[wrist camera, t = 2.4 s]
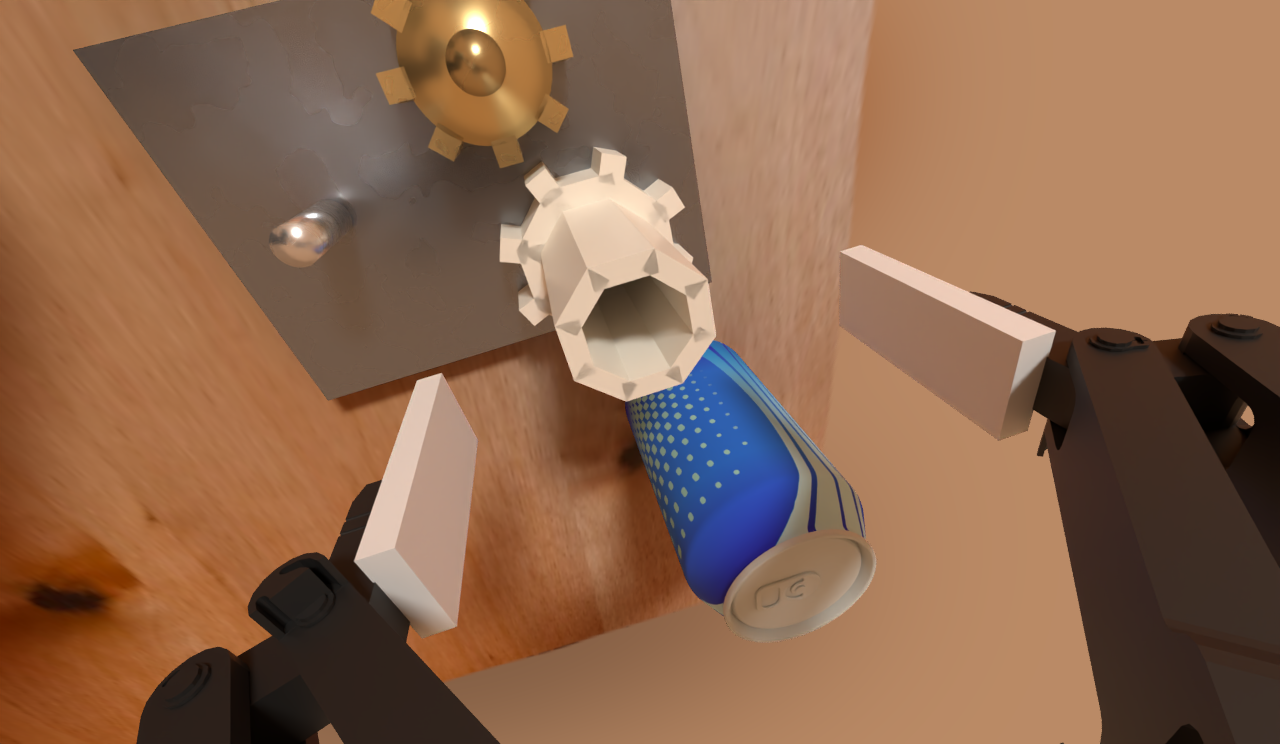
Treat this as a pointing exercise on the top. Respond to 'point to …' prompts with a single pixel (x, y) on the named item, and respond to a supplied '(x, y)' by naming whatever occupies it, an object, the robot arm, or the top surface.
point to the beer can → (751, 502)
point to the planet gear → (611, 277)
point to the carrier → (398, 155)
